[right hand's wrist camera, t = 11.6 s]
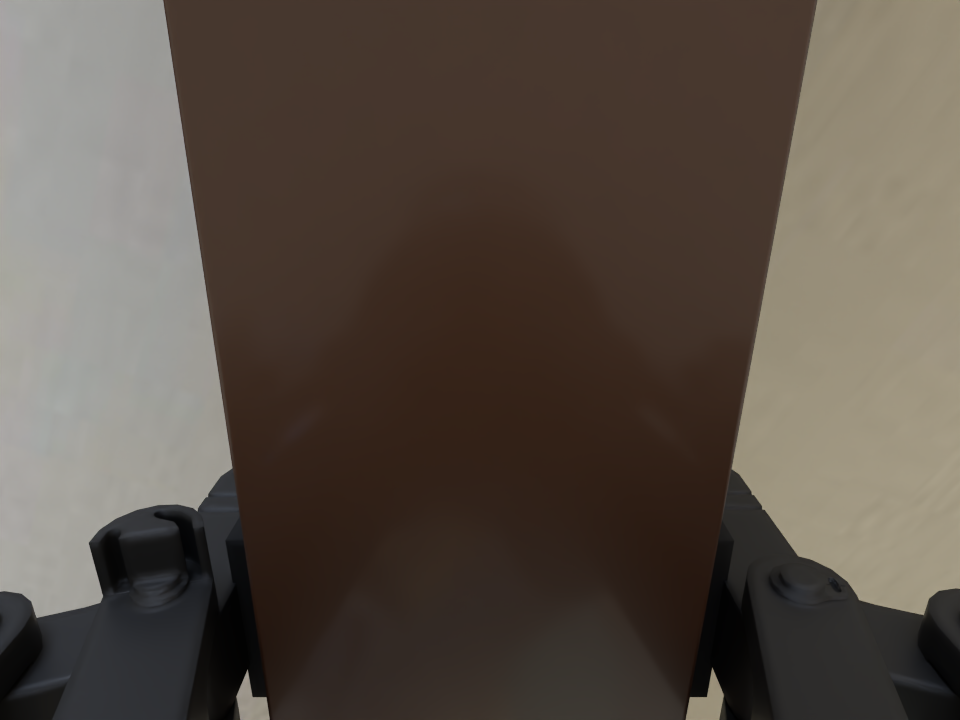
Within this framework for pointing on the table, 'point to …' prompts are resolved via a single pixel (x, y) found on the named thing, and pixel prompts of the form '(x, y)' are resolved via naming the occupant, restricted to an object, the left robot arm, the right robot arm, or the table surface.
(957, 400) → the table surface
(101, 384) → the table surface
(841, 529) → the table surface
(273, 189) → the walnut beam
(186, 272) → the table surface
